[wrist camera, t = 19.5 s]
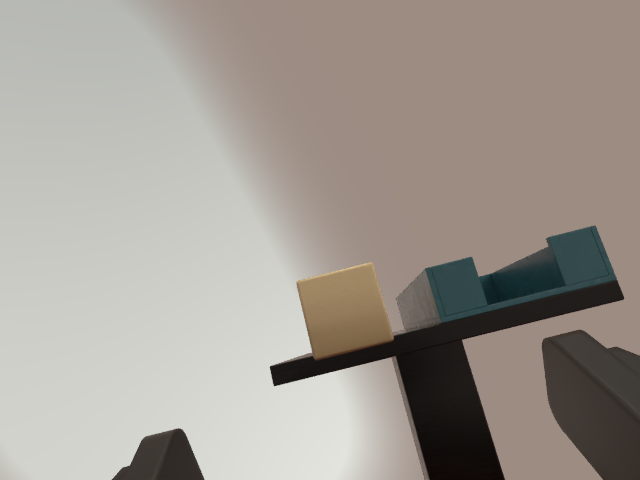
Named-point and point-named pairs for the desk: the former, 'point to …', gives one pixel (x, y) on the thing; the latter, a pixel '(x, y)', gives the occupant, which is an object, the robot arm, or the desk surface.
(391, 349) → the stand
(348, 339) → the birch bar
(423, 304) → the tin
